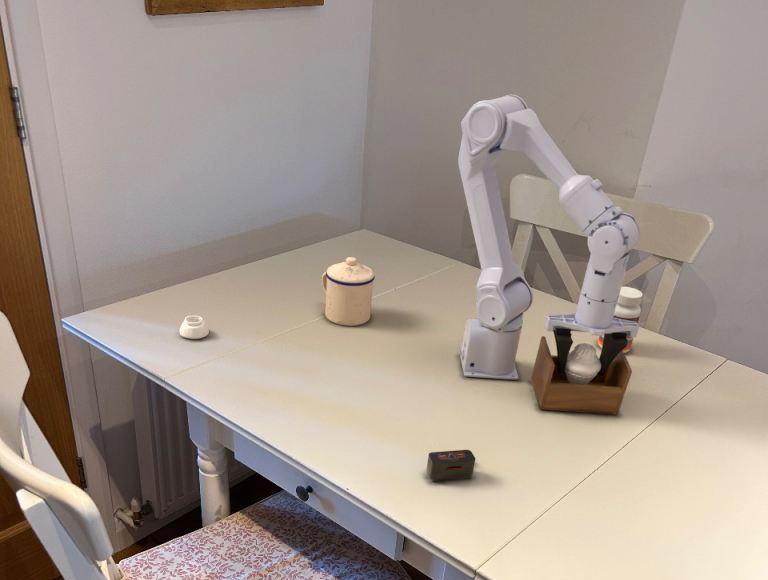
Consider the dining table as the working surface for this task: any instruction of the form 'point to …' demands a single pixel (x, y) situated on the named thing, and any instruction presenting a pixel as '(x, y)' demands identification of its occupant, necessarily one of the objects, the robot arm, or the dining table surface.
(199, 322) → the white jar
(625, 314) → the pill bottle
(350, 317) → the teacup with lid
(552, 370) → the wooden crate
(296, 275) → the dining table surface
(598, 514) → the dining table surface
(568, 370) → the white swirled dome
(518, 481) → the dining table surface
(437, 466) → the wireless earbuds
